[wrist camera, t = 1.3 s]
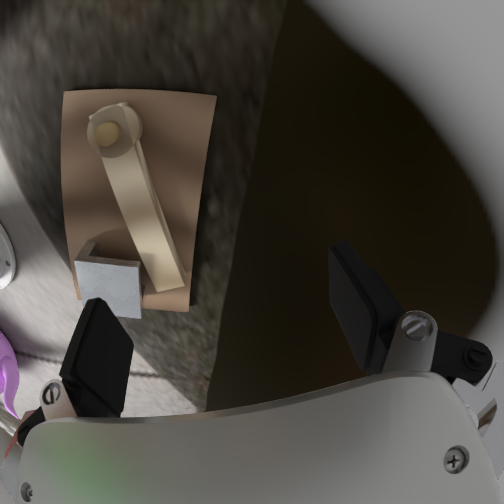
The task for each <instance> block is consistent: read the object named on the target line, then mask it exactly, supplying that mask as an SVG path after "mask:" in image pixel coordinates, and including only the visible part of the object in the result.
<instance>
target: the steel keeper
mask: <svg viewBox="0 0 504 504" xmlns="http://www.w3.org/2000/svg"><path fill="white" fill-rule="evenodd" d="M74 263H75V269H76V274H77V279H78V284H79V289H80V294H81V298H82V303H83V307H84V306H85V304H86V302H87V300H89V299H93V298H97V297H100V298H101V299H102V300H105V301H106V302H107V304H108V306H109V307H110V309H111V310H112V312H113V313H114V315H115V316H122V317H130V318H139V319H141V318H142V313H143V308H144V303H145V298H146V286H141V272H140V261H131V260H122V259H112V258H103V257H98V249H97V242H96V241H86V242H85V244H84V245H83V247H82V249H81V250H80V252H79V253H78V255H77V257H76V258H75V260H74Z"/></svg>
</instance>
